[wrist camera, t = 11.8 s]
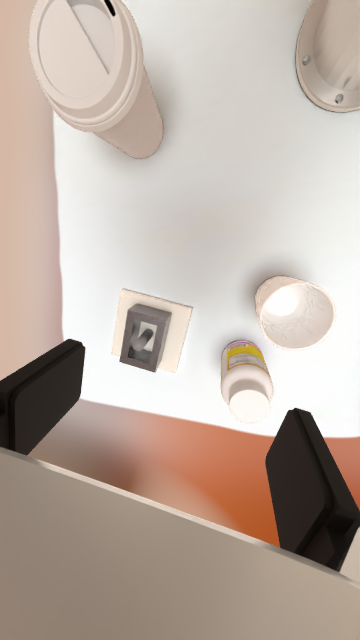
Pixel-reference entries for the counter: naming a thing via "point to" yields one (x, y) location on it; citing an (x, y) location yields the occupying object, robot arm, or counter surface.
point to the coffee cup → (96, 71)
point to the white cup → (294, 312)
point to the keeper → (153, 327)
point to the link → (131, 334)
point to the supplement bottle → (246, 382)
